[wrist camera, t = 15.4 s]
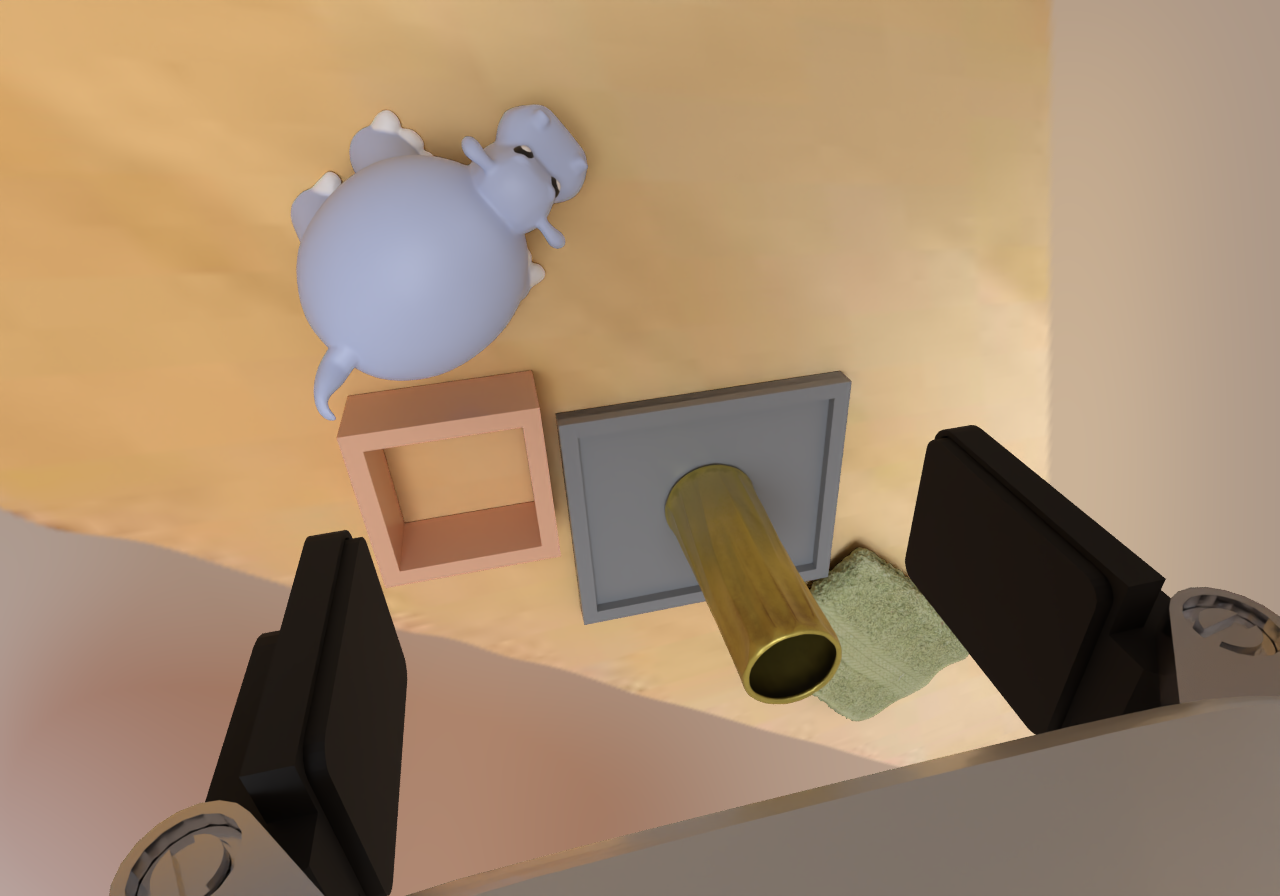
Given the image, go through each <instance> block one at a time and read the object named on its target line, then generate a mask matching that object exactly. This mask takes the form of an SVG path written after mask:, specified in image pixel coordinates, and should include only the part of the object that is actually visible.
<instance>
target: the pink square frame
mask: <svg viewBox="0 0 1280 896" xmlns="http://www.w3.org/2000/svg"><path fill="white" fill-rule="evenodd" d="M522 427H523V432H524V438H525V444H526V450H527V456H528V463H529V469H530V475H531V481H532V487H533V494H534V500H535V501H533V502H527V503H521V504H515V505H509V506H504V507H498V508H492V509H486V510H480V511H474V512H468V513H462V514H456V515H450V516H444V517H438V518H432V519H426V520H420V521H414V522H409V523H404V520H403V516H402V513H401V510H400V506H399V503H398V499H397V496H396V492H395V489H394V485H393V482H392V478H391V475H390V471H389V468H388V464H387V461H386V458H385V454H384V451H383V449H384V448H391V447H398V446H404V445H411V444H417V443H424V442H430V441H437V440H444V439H450V438H457V437H463V436H470V435H476V434H483V433H490V432H496V431H503V430H509V429H516V428H522ZM337 441H338V444H339V447H340V450H341V453H342V456H343V459H344V462H345V465H346V468H347V471H348V474H349V477H350V480H351V484H352V487H353V490H354V493H355V496H356V499H357V502H358V505H359V508H360V511H361V514H362V517H363V520H364V523H365V526H366V529H367V533H368V536H369V539H370V542H371V545H372V548H373V551H374V554H375V557H376V560H377V563H378V566H379V569H380V572H381V575H382V578H383V581H384V585H385V588H389V587H394V586H400V585H405V584H411V583H416V582H422V581H427V580H433V579H439V578H444V577H450V576H455V575H461V574H466V573H472V572H477V571H483V570H488V569H494V568H499V567H505V566H510V565H516V564H521V563H527V562H532V561H538V560H543V559H549V558H554V557H560V556H561V552H560V545H559V538H558V531H557V525H556V518H555V511H554V504H553V497H552V490H551V483H550V476H549V469H548V462H547V455H546V448H545V441H544V434H543V427H542V420H541V414H540V407H539V402H538V397H537V393H536V388H535V383H534V378H533V373H532V370H530V371H523V372H516V373H509V374H502V375H495V376H488V377H481V378H473V379H466V380H459V381H452V382H445V383H438V384H431V385H424V386H416V387H409V388H402V389H395V390H388V391H381V392H374V393H366V394H359V395H352V396H348V398H347V401H346V405H345V409H344V412H343V416H342V420H341V424H340V427H339V431H338V435H337Z"/></svg>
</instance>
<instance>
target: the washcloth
mask: <svg viewBox="0 0 1280 896" xmlns="http://www.w3.org/2000/svg"><path fill="white" fill-rule="evenodd" d="M810 592H811V594H812V595H813V597H814V599H815V600H816V602H817V604H818V605H819V607H820V608H821V610H822V612H823V613H824V615H825V616H826V618H827V620H828V621H829V623H830V625H831V626H832V628H833V630H834V631H835V633H836V635H837V637H838V639H839V642H840V645H841V649H842V659H841V662H840V665H839V667H838V669H837V671H836V673H835V675H834V676H833V678H832V679H831V680H830V681H829V682H828V683H827V684H826V685H825V686H824V687H823V688H821V689H820V690H819V691H817V692H815V693H814V694H812V695H813V696H817V697H818V698H819V700H820V701H824V702H825V703H827V704H828V707H830V708H831V709H833V710H834V711H835V712H837V713H838V714H840V715H842V716H845V717H846V719H847V718H849V719H851V721H862V720H866V719H869V718H871V717H873V716H875V715H877V714H878V713H880V712H881V711H882V710H883V709H885V708H886V707H888V706H889V705H891V704H892V703H894V702H895V701H897V700H899V699H901V698H904V697H906V696H908V695H910V694H912V693H914V692H916V691H918V690H920V689H921V688H923V687H925V686H926V685H927V684H928V683H929V682H930V681H931V679H932V678H933V677H934V676H935V675H936V674H937V673H938V672H939V671H940V670H942V669H943V668H945V667H947V666H948V665H950V664H953V663H955V662H958V661H961V660H963V659H965V658H966V657H967V656H968V655H969V653H968V652H967V650H966V649H965V648H964V646H963V645H962V644H961V643H960V641H959V640H958V639H957V638H956V636H955V635H954V634H953V633H952V631H951V630H950V629H949V627H948V626H947V625H946V624H945V622H944V621H943V620H942V619H941V617H940V616H939V615H938V613H937V612H936V611H935V610H934V608H933V607H932V606H931V605H930V603H929V602H928V601H927V600H926V598H925V597H924V596H923V594H922V593H921V592H920V591H919V589H918V588H917V587H916V586H915V584H914V583H913V582H912V580H910V578H908V577H905V575H904V574H903V572H902V571H900V570H899V569H897V568H894V567H893V566H892V565H891V564H890V563H886V562H885V560H884V559H881V558H879V557H878V556H877V555H876V554H875V553H874V552H872V551H870V550H868V549H866V548H865V549H864V548H859V547H858V548H856V549H855V550H854V551H852V552H851V554H850V556H847V557H845V558H844V559H843V560H842V562H840V563H839V564H838V565H836V566H835V568H833V570H831V571H829V573H828V577H825V578H820V579H818V580H816V581H813V584H812V588H811V589H810Z"/></svg>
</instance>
